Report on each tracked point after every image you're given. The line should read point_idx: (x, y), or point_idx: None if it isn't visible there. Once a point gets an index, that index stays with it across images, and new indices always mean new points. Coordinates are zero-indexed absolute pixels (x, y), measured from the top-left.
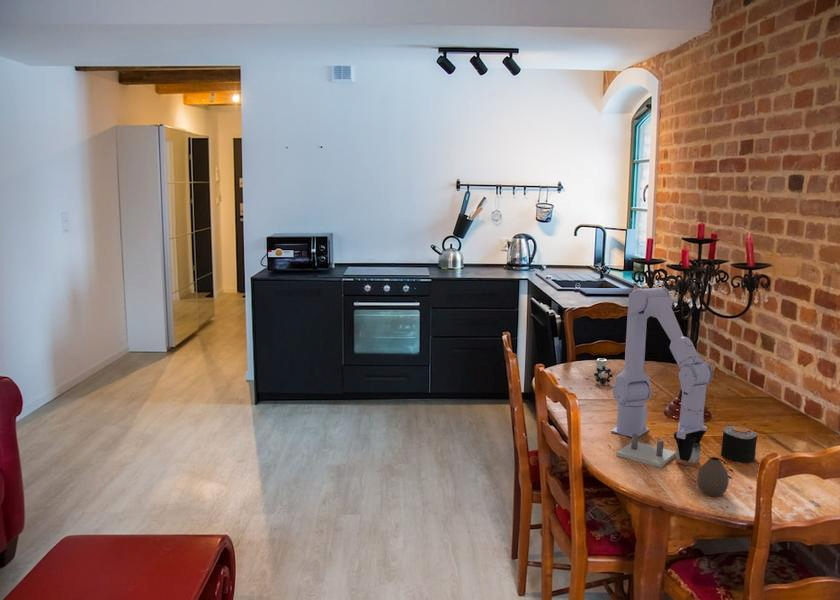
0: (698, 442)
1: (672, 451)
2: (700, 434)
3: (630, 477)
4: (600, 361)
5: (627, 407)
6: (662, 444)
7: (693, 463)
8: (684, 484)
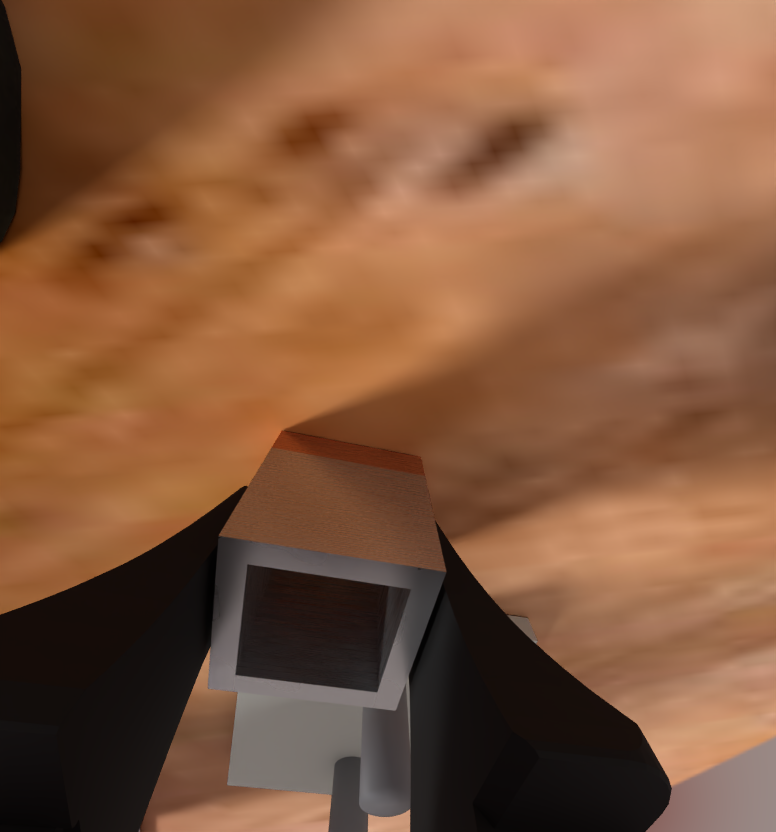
0: (202, 568)
1: None
2: (125, 681)
3: (717, 700)
4: None
5: None
6: (401, 763)
7: (423, 472)
8: (771, 470)
